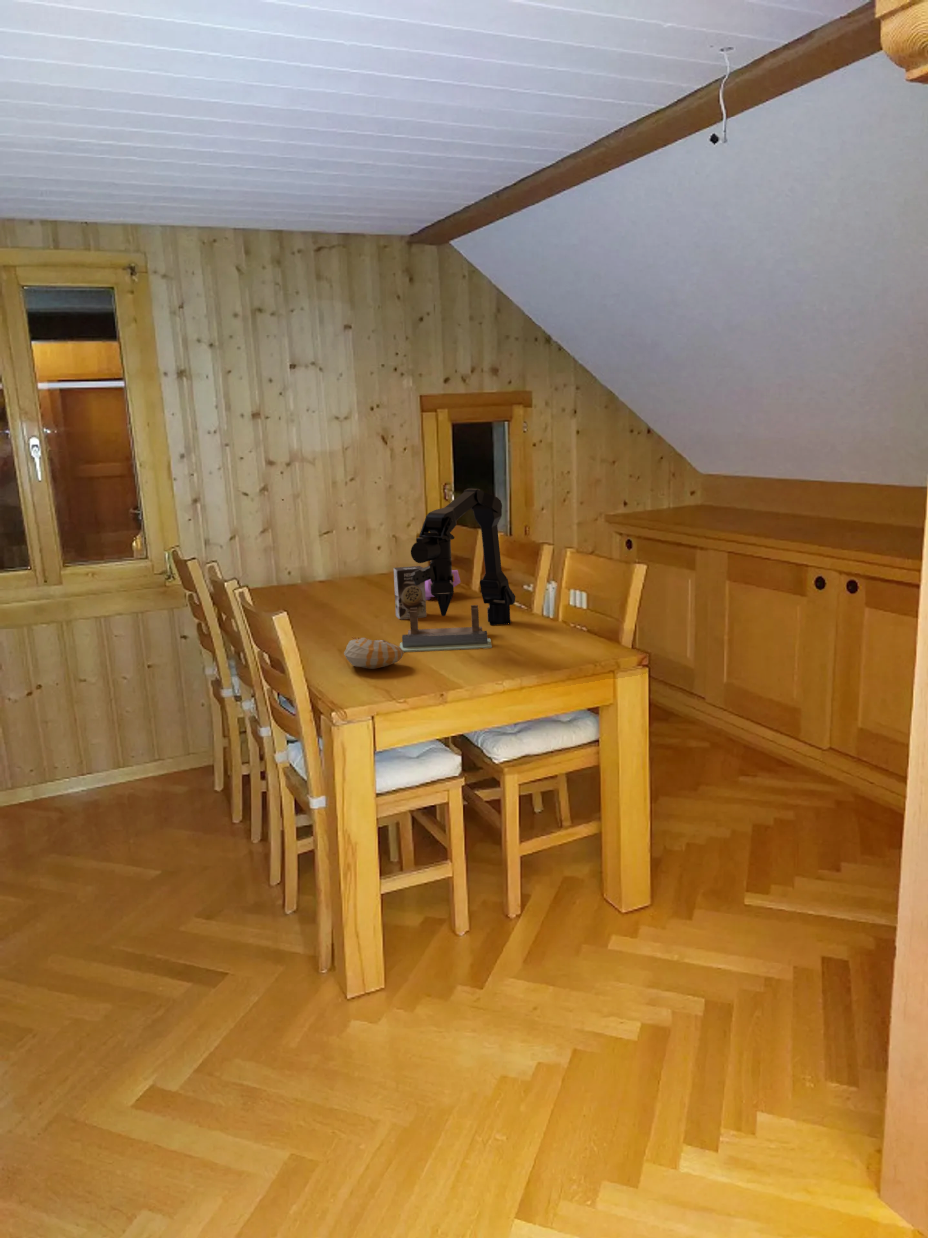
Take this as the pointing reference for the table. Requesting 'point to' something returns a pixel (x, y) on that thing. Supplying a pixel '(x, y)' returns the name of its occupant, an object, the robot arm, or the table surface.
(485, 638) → the hang rail
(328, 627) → the table surface
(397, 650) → the nautilus
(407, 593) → the cookie box
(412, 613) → the hook stand
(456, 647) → the rubber mat
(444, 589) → the robot arm
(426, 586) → the pink piggy bank
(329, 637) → the table surface
